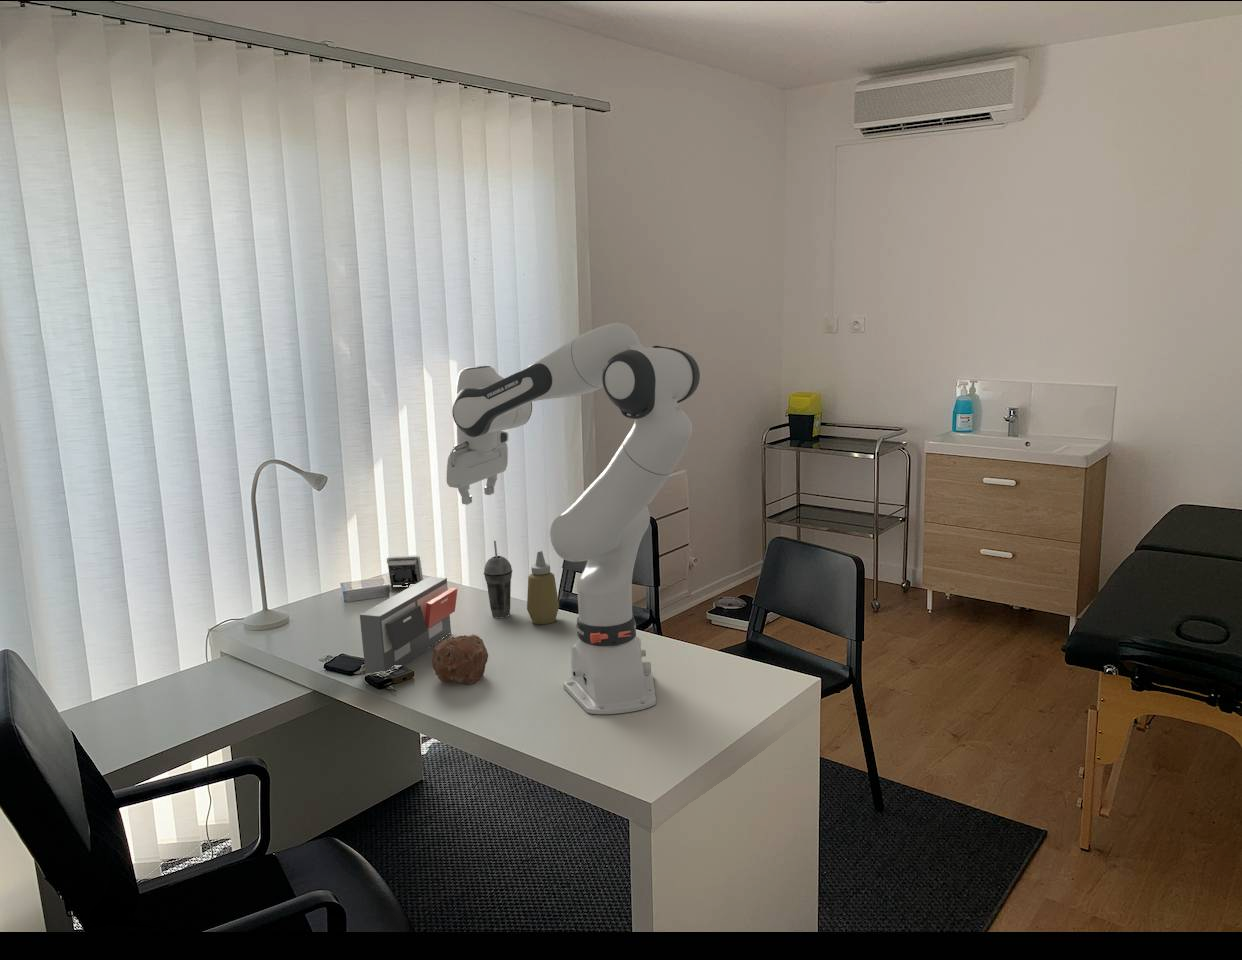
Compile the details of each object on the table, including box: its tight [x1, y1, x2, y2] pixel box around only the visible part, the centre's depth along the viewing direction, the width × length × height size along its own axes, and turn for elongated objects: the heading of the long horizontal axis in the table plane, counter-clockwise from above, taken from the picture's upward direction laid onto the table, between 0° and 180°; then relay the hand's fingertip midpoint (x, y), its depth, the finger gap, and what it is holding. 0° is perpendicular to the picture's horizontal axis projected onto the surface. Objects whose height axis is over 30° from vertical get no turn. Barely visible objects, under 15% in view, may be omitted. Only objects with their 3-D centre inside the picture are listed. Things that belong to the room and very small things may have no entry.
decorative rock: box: [430, 634, 489, 685], centre depth 197 cm, size 13×11×10 cm
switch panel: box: [359, 576, 452, 674], centre depth 212 cm, size 5×28×14 cm, turn 160°
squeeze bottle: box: [526, 550, 560, 625], centre depth 230 cm, size 8×8×18 cm
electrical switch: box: [386, 554, 424, 588], centre depth 264 cm, size 9×5×9 cm, turn 92°
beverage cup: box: [483, 540, 513, 619], centre depth 236 cm, size 7×7×20 cm
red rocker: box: [425, 586, 458, 628], centre depth 217 cm, size 1×12×6 cm, turn 160°
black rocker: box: [386, 606, 427, 650], centre depth 204 cm, size 1×12×6 cm, turn 160°
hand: (478, 498), depth 209 cm, fingers open, 8 cm apart
